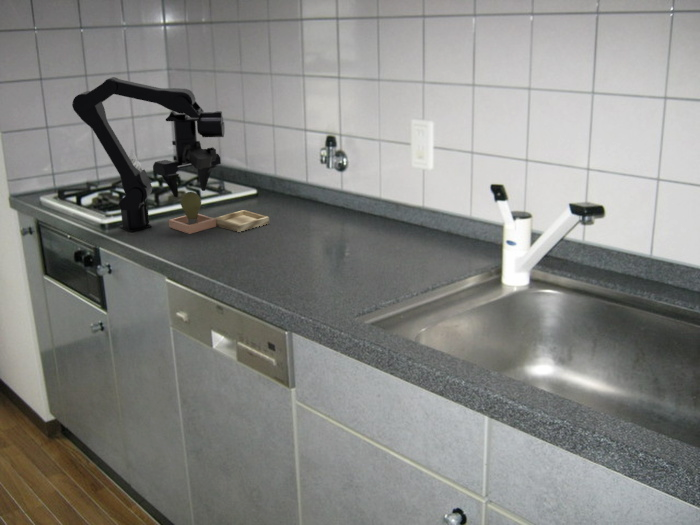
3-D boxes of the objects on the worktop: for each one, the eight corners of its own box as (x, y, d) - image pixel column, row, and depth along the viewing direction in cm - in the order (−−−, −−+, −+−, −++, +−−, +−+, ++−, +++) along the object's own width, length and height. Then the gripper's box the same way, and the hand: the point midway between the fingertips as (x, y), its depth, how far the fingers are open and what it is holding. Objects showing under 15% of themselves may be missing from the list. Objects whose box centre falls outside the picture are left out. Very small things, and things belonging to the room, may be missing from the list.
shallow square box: (189, 234, 209) (188, 226, 208) (169, 227, 215) (168, 219, 214) (216, 226, 215) (215, 218, 215) (196, 220, 221) (195, 212, 221)
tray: (239, 232, 210) (238, 225, 209) (213, 224, 217) (213, 218, 216) (269, 223, 217) (269, 217, 217) (243, 216, 224) (243, 209, 224)
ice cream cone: (127, 194, 249) (122, 148, 244) (143, 192, 251) (138, 147, 246) (130, 198, 245) (125, 151, 239) (146, 196, 247) (141, 149, 241)
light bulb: (179, 229, 213) (176, 194, 210) (188, 223, 218) (185, 189, 215) (197, 230, 212) (194, 195, 209) (206, 224, 217) (204, 190, 214)
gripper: (174, 146, 195) (179, 206, 200) (232, 136, 208) (235, 192, 213) (149, 140, 202) (154, 198, 207) (206, 131, 215) (209, 185, 220)
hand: (189, 193), depth 212 cm, fingers open, 9 cm apart
